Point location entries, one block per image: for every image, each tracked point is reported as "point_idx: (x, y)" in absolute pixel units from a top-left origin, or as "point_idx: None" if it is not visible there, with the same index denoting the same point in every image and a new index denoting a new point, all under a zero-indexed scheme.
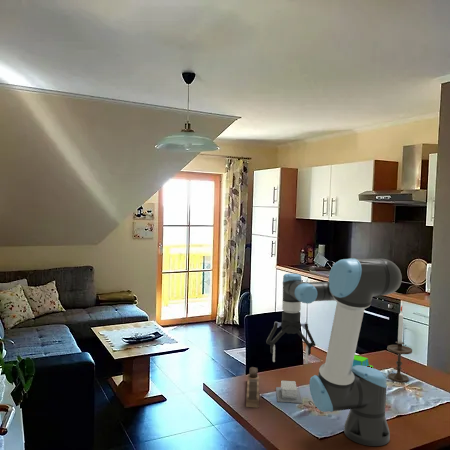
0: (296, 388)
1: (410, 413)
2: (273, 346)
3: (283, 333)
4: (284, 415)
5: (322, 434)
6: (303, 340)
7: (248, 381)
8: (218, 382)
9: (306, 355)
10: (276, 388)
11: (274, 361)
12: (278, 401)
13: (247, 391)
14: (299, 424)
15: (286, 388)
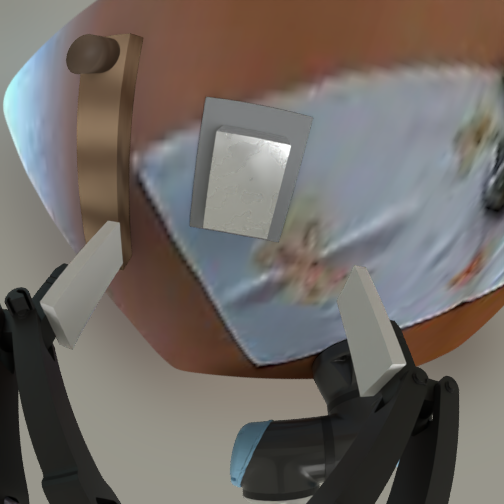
0: (268, 225)
1: (482, 296)
2: (61, 344)
3: (108, 497)
4: (201, 298)
5: (269, 359)
6: (345, 456)
7: (80, 115)
8: (22, 84)
9: (350, 343)
10: (205, 111)
11: (119, 265)
12: (193, 226)
13: (82, 209)
14: (231, 332)
15: (222, 223)
